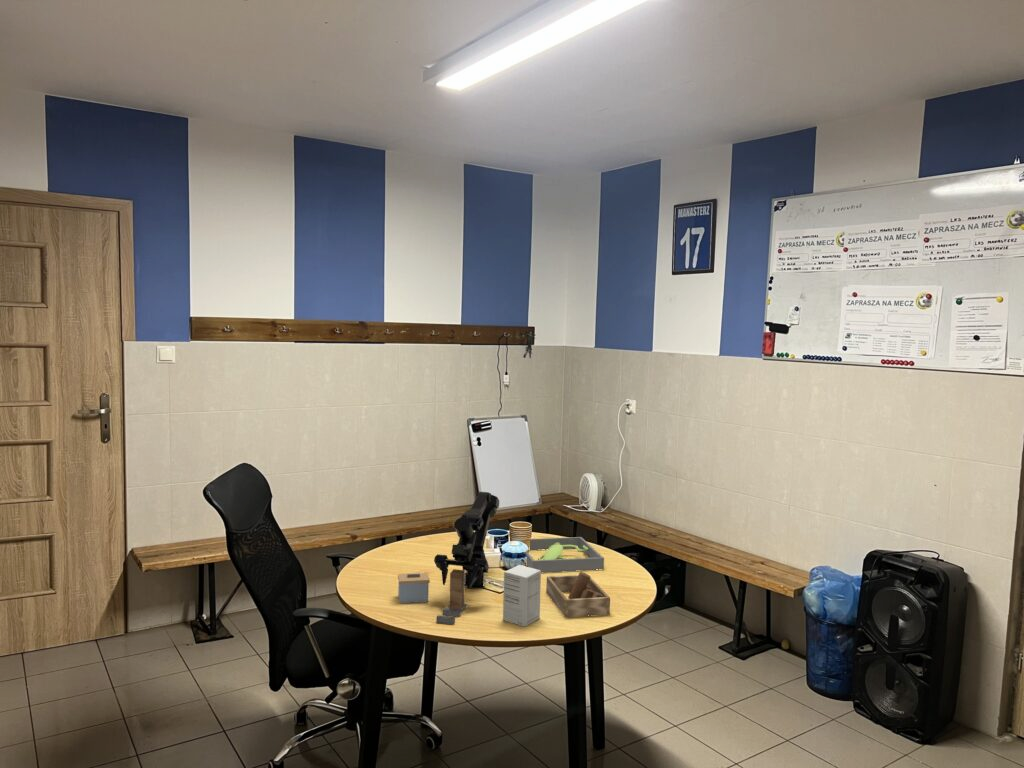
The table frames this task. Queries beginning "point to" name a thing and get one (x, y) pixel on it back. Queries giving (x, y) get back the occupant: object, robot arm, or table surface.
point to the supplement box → (521, 595)
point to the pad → (462, 607)
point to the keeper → (446, 618)
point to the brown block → (457, 589)
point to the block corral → (576, 605)
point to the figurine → (558, 551)
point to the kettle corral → (561, 565)
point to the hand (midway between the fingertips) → (456, 586)
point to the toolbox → (413, 587)
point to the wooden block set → (583, 588)
